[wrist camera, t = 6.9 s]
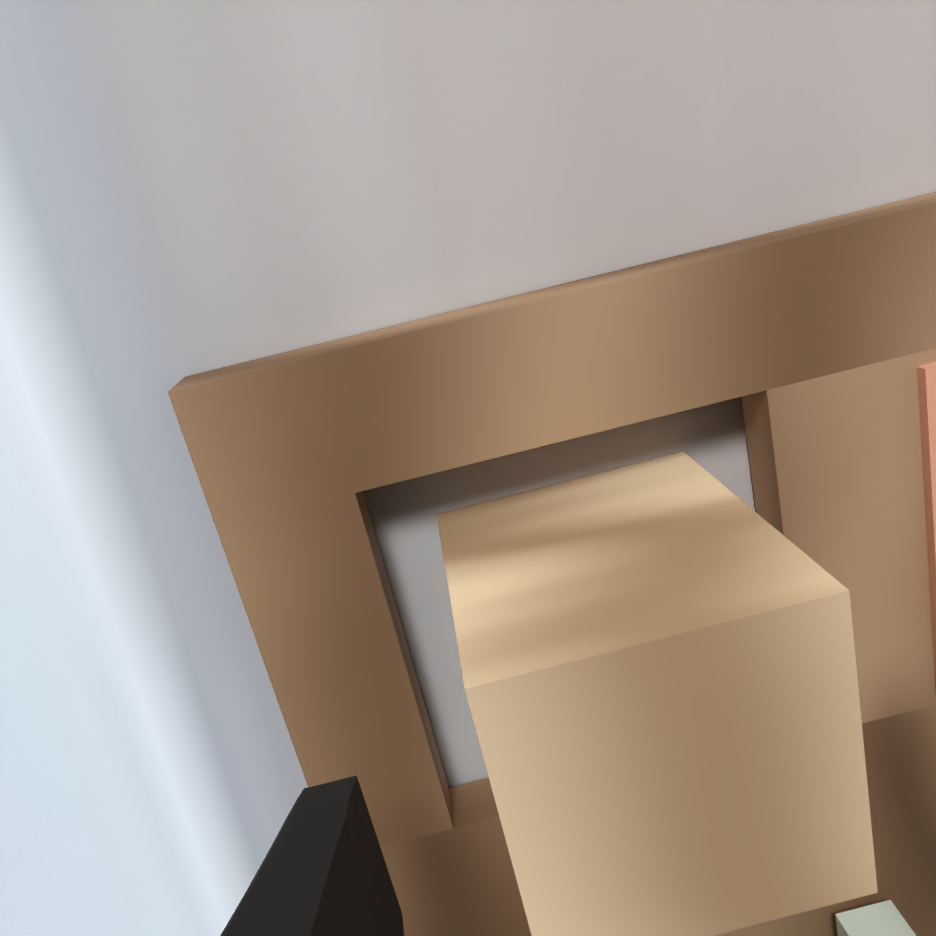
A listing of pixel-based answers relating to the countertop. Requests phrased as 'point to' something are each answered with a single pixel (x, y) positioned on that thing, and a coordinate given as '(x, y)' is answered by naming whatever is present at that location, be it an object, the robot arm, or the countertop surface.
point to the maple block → (660, 704)
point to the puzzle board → (570, 416)
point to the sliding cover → (873, 921)
